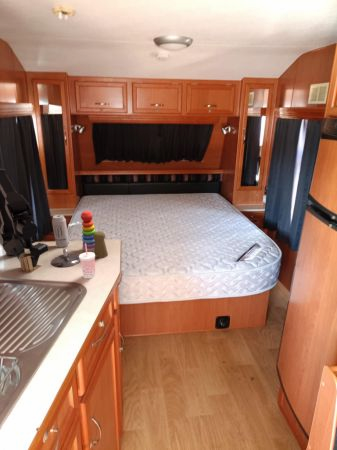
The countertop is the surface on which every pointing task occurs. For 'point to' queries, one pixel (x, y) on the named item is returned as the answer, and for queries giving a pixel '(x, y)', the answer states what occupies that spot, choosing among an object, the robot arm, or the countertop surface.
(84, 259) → the beverage cup
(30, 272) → the stand
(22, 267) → the tan hollow faceted cylinder
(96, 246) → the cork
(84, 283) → the countertop surface
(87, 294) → the countertop surface
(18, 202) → the robot arm
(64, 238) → the energy drink can
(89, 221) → the stacking toy
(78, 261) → the disc
